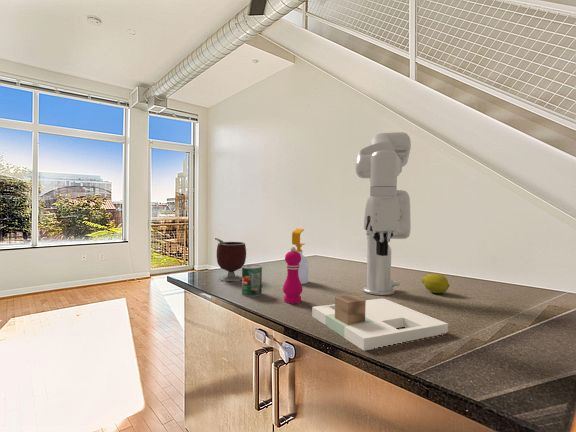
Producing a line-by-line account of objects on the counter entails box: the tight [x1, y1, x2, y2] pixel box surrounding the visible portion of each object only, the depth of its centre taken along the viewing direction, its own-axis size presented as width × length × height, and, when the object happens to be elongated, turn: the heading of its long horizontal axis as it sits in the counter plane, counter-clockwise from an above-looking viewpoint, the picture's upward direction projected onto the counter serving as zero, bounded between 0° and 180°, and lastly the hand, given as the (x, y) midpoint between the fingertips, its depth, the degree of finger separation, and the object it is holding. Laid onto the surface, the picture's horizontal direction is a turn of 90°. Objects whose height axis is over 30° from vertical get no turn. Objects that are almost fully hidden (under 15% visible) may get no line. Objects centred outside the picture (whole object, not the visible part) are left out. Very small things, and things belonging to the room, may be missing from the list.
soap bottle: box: [291, 228, 310, 285], centre depth 151 cm, size 9×9×25 cm
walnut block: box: [334, 294, 366, 325], centre depth 92 cm, size 6×6×6 cm
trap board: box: [311, 297, 449, 351], centre depth 97 cm, size 28×27×3 cm
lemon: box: [421, 273, 451, 295], centre depth 135 cm, size 11×8×8 cm
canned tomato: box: [241, 264, 263, 297], centre depth 130 cm, size 8×8×11 cm
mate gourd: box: [214, 237, 247, 282], centre depth 156 cm, size 16×14×20 cm
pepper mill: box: [282, 246, 303, 305], centre depth 121 cm, size 7×7×20 cm
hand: (381, 255), depth 98 cm, fingers closed
